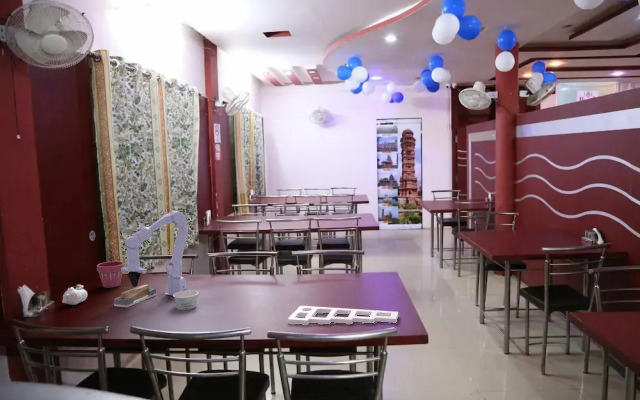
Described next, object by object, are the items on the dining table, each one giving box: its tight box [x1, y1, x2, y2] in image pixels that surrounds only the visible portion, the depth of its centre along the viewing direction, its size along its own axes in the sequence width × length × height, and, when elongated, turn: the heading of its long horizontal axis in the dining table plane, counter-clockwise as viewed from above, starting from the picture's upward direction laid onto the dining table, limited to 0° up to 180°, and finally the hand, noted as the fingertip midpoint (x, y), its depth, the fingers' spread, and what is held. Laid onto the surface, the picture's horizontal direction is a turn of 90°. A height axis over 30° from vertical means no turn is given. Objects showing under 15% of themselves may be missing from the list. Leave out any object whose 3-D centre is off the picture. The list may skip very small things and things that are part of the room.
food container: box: [172, 289, 200, 311], centre depth 227 cm, size 12×12×7 cm
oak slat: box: [120, 284, 150, 301], centre depth 240 cm, size 3×16×5 cm, turn 159°
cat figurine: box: [61, 284, 88, 306], centre depth 238 cm, size 10×8×15 cm
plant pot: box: [96, 260, 125, 289], centre depth 270 cm, size 14×14×13 cm
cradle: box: [113, 287, 157, 308], centre depth 240 cm, size 8×21×4 cm, turn 159°
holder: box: [287, 305, 399, 326], centre depth 203 cm, size 45×18×3 cm, turn 74°
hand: (135, 286), depth 240 cm, fingers closed
